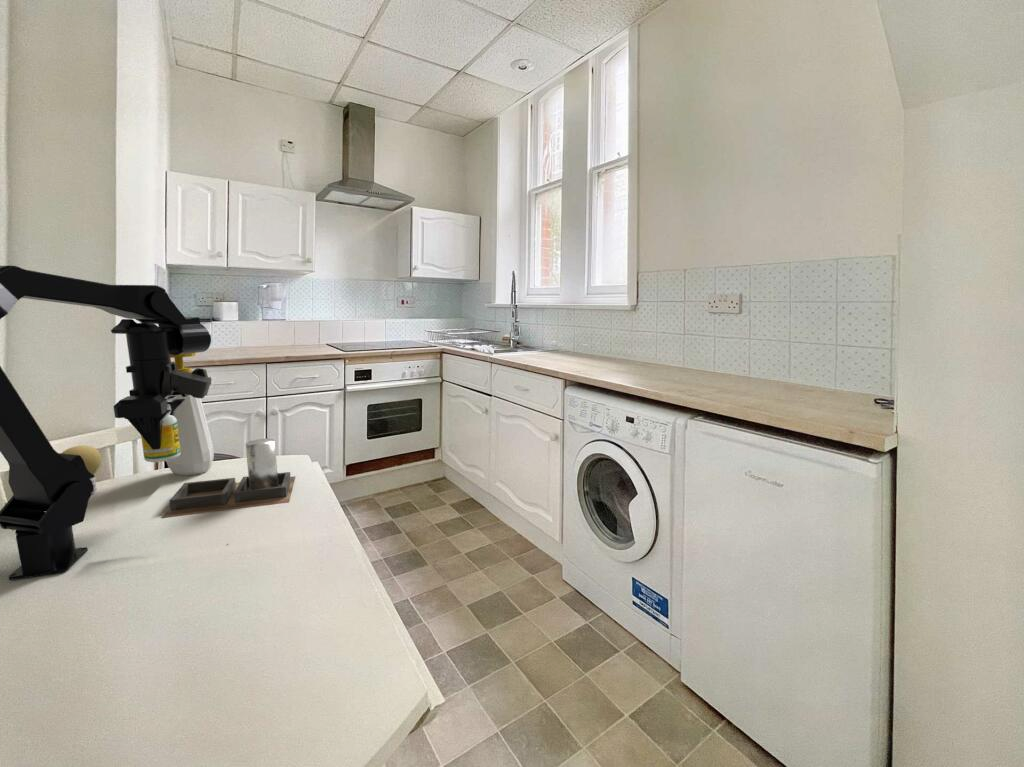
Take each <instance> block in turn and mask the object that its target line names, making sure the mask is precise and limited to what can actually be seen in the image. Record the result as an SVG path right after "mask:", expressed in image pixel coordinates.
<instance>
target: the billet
mask: <svg viewBox="0 0 1024 767" xmlns="http://www.w3.org/2000/svg"><path fill="white" fill-rule="evenodd" d="M276 449H277V448H276V441H275V439H274V438H258V439H253V440H250V441H248V442H246V443H245V452H246V462H247V473H248V476H249V487H250V490H251V489H260V488H269V487H278V486H279V485H278V473H279V472H278V463H277V461H278V460H277V450H276Z"/></svg>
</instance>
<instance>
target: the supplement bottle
mask: <svg viewBox="0 0 1024 767" xmlns="http://www.w3.org/2000/svg"><path fill="white" fill-rule="evenodd" d="M167 405H168V406H167V410H171V407H170V405H169V404H167ZM170 413H171V411H170V412H169V413H168V414H167V415H166V416H165V417H164V418H163V420H162V437H161V448H160V449H155V450H153V449H152V448H151V447H150V446H149V444H148V443H147V442H146V441H145V439H144V438H143V437H142V436H141V435H140V437H141V445H142V452H143V459H144V461H145V462H149V463H161V462H166V461H168V460H172V459H175V458H177V457H178V456H180V454H181V452H180V443H179V435H178V426H177V420H176V418H175V417H174V416H172V415H170Z"/></svg>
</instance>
